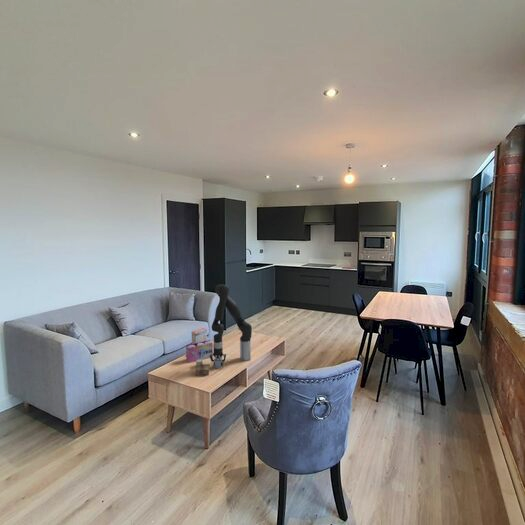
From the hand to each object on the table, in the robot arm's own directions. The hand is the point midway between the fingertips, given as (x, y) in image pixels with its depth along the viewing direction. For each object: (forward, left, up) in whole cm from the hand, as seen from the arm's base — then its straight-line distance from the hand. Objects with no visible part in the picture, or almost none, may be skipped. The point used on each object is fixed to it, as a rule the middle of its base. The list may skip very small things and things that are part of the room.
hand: (218, 366), depth 269 cm
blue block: (0, 0, -1) cm, 1 cm away
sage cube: (+16, -1, -1) cm, 16 cm away
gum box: (+19, -17, -1) cm, 26 cm away
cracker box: (+22, -33, -1) cm, 40 cm away
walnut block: (+11, +11, -1) cm, 16 cm away
